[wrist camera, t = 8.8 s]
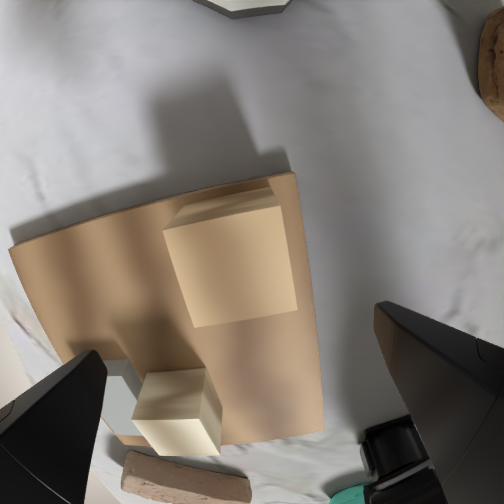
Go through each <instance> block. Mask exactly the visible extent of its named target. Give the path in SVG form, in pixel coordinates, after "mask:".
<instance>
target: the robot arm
mask: <svg viewBox="0 0 504 504" xmlns="http://www.w3.org/2000/svg"><path fill="white" fill-rule="evenodd" d="M374 331H375V334H376V337H377V340H378V342H379V345H380V348H381V350H382V353H383V356H384V358H385V361H386V364H387V367H388V369H389V372H390V374H391V376H392V378H393V380H394V382H395V384H396V386H397V388H398V390H399V392H400V394H401V396H402V398H403V401H404V403H405V405H406V407H407V409H408V411H409V413H410V415H409V416H406V417H403V418H400V419H398V420H395V421H392V422H389V423H386V424H383V425H380V426H376V427H373V428H370V429H367V430H366V431H365V433H364V440H363V442H362V443H361V448H360V455H361V458H362V462H363V465H364V468H365V472H366V475H367V477H372V478H373V482H372V483H370V484H366V485H364V486H363V487H364V490H363V495H364V502H365V504H504V348H502V347H499V346H497V345H494V344H492V343H489V342H487V341H484V340H482V339H479V338H477V339H476V337H475V336H472V335H470V334H467V333H465V332H463V331H460V330H458V329H455V328H453V327H451V326H448V325H446V324H443V323H441V322H439V321H436V320H434V319H431V318H429V317H427V316H424V315H422V314H419V313H417V312H414V311H412V310H410V309H407V308H405V307H402V306H400V305H397V304H395V303H393V302H390V301H383V302H379V303H376V304H375V306H374ZM107 375H108V371H107V367H106V365H105V364H104V362H103V360H102V359H101V357H100V355H99V353H98V352H97V351H96V350H94V349H91V350H84V351H83V352H81V353H80V354H78V355H77V356H76V357H74V358H73V359H71V360H70V361H68V362H67V363H65V364H64V365H63V366H61V367H60V368H58V369H57V370H55V371H54V372H53V373H51V374H50V375H48V376H47V377H45V378H44V379H42V380H41V381H40V382H38V383H37V384H35V385H34V386H33V387H31V388H30V389H28V390H27V391H26V392H24V393H23V394H21V395H20V396H18V397H17V398H16V399H15V400H13V401H11V402H10V403H9V404H7V405H5V406H4V407H3V408H1V409H0V504H84V500H85V493H86V486H87V481H88V475H89V469H90V464H91V459H92V453H93V449H94V444H95V439H96V434H97V430H98V426H99V421H100V417H101V413H102V407H103V401H104V394H105V388H106V381H107ZM414 424H415V425H414ZM415 426H416V427H415ZM416 428H417V429H416ZM417 430H418V431H417ZM418 432H419V433H418ZM419 434H420V435H419ZM423 443H424V444H423Z"/></svg>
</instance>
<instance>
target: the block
mask: <svg viewBox="0 0 504 504" xmlns="http://www.w3.org/2000/svg"><path fill="white" fill-rule="evenodd" d="M478 79H479V89H480V93H481V97H482V99H483V102H484V104H485V105H486V106H487V107H488V108H489V109H490V110H491V111H492V112H493V113H494V114H495V115H496V116H497V117H498V118H500V119H501V120H502V121H503V122H504V7H501V8H499V9H497V10H495V11H493V12H492V13H490V14H489V15H488V16H487V20H486V23H485V26H484V29H483V31H482V33H481V37H480V48H479V57H478Z"/></svg>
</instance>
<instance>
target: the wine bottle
mask: <svg viewBox="0 0 504 504" xmlns="http://www.w3.org/2000/svg"><path fill="white" fill-rule="evenodd" d="M193 1H195V2H197V3H199V4H201V5H204V6H206V7H208V8H210V9H212V10H215V11H217V12H219V13H221V14H223V15H225V16H227V17H229V18H231V19H237V18H244V17H250V16H258V15H266V14H276V13H282V11H283V10H284V9H285V8H286V7H287V6H288V5H289V4H290V3H291V2H292V1H293V0H193Z"/></svg>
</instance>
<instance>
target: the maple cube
mask: <svg viewBox="0 0 504 504" xmlns="http://www.w3.org/2000/svg"><path fill="white" fill-rule="evenodd" d="M163 234H164V237H165V241H166V244H167V247H168V251H169V254H170V257H171V260H172V263H173V267H174V270H175V273H176V276H177V279H178V282H179V285H180V288H181V291H182V294H183V297H184V300H185V303H186V306H187V308H188V311H189V314H190V317H191V320H192V323H193V325H194V328H197V327H204V326H210V325H217V324H223V323H229V322H235V321H241V320H247V319H253V318H258V317H264V316H269V315H274V314H280V313H285V312H290V311H295V310H298V309H297V303H296V296H295V290H294V283H293V277H292V270H291V264H290V258H289V252H288V246H287V240H286V234H285V228H284V223H283V217H282V211H281V206H280V204H279V202H278V200H277V198H276V196H275V194H274V192H273V191H272V189H271V187H266V188H261V189H256V190H251V191H246V192H241V193H236V194H231V195H227V196H222V197H217V198H213V199H208V200H204V201H199V202H195V203H191V204H186V205H184V206H183V207H182V209H181V210H180V211H179V212H178V213H177V214H176V215H175V216H174V218H173V219H172V220H171V221H170V222H169V223H168V225H167V226H166V227H165V228H164V229H163Z"/></svg>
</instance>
